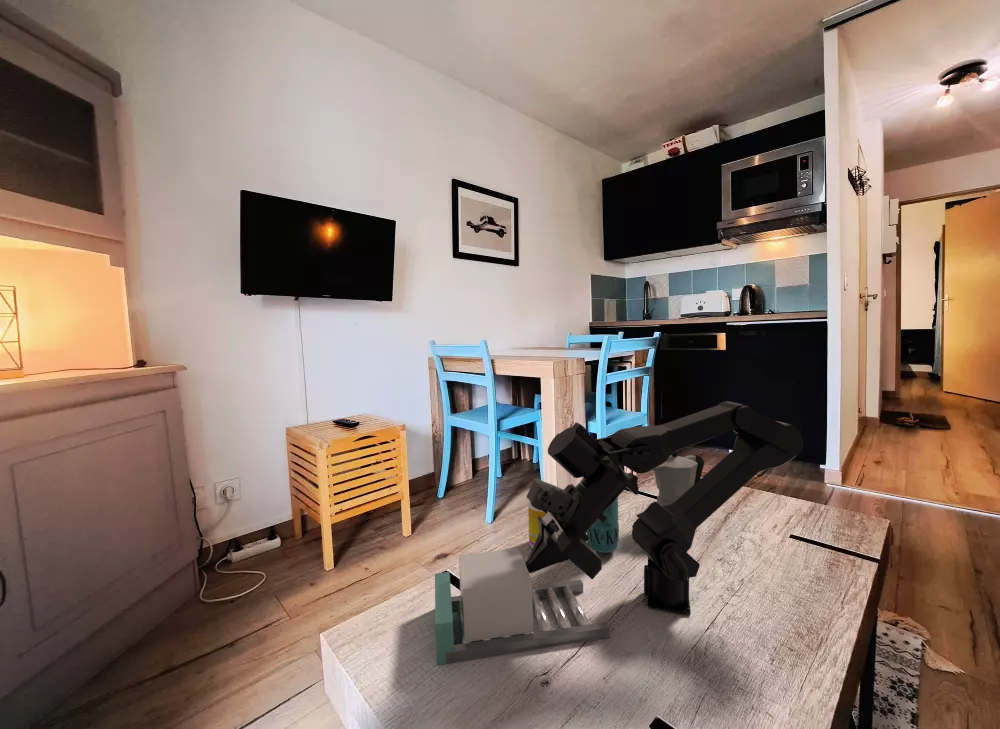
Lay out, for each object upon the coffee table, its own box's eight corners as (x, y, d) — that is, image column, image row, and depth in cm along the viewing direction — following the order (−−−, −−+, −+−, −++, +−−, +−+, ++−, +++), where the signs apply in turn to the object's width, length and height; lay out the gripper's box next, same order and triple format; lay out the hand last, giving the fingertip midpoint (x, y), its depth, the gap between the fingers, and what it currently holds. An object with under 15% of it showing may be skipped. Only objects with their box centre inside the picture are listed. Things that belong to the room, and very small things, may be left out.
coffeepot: (668, 541, 87) (668, 458, 86) (637, 522, 96) (636, 447, 94) (720, 525, 93) (720, 448, 91) (687, 509, 101) (687, 438, 100)
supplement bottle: (559, 554, 83) (558, 493, 82) (527, 552, 84) (525, 491, 83) (561, 538, 90) (559, 481, 89) (531, 536, 91) (529, 480, 90)
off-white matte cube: (520, 593, 69) (518, 548, 68) (533, 632, 60) (531, 579, 59) (460, 601, 67) (458, 555, 66) (464, 642, 58) (462, 589, 58)
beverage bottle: (582, 544, 87) (580, 452, 85) (613, 542, 87) (611, 450, 86) (592, 561, 80) (590, 462, 79) (624, 559, 81) (623, 460, 79)
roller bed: (436, 608, 68) (434, 573, 68) (580, 588, 72) (580, 555, 72) (437, 665, 56) (435, 624, 56) (609, 637, 60) (609, 599, 60)
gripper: (542, 446, 73) (482, 513, 72) (578, 484, 54) (499, 574, 53) (584, 486, 74) (527, 551, 73) (634, 535, 56) (558, 623, 55)
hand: (526, 570), depth 64 cm, fingers closed
